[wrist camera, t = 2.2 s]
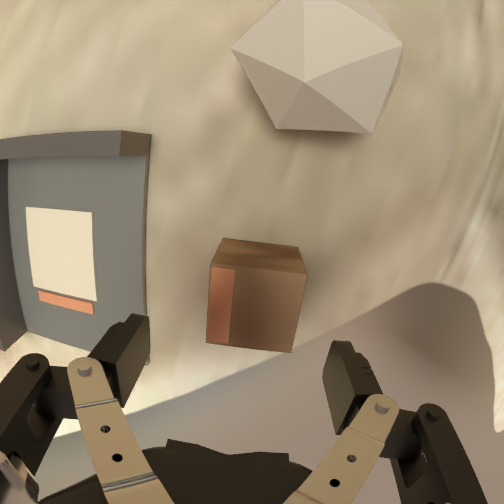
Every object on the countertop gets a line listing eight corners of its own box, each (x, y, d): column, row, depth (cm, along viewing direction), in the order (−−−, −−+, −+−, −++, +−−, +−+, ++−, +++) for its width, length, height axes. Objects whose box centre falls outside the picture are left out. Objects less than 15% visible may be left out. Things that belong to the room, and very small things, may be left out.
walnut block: (297, 246, 21) (307, 274, 16) (286, 312, 22) (290, 353, 17) (222, 237, 21) (209, 263, 16) (217, 304, 22) (204, 343, 17)
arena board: (151, 134, 19) (121, 130, 14) (149, 361, 24) (131, 396, 20) (4, 142, 19) (-33, 144, 14) (21, 324, 24) (-5, 347, 20)
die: (278, 160, 19) (414, 174, 12) (179, 71, 14) (307, 5, 7) (328, 79, 20) (447, 71, 13) (255, -5, 15) (376, -57, 7)
